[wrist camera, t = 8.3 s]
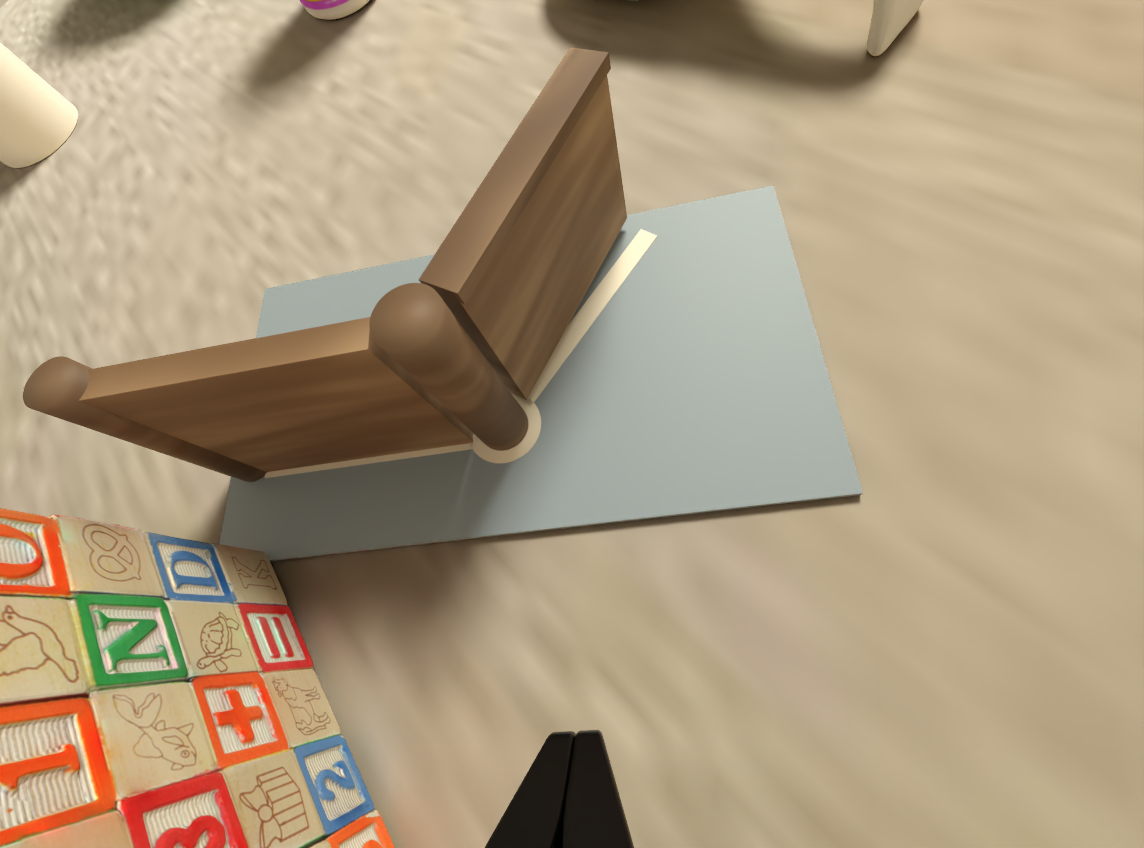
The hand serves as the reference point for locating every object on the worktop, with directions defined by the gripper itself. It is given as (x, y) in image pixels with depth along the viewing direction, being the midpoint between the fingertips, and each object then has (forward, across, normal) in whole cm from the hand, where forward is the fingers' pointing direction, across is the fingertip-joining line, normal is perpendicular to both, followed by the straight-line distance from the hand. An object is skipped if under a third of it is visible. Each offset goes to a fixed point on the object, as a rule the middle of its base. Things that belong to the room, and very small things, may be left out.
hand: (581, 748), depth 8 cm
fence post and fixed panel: (+16, +12, 0) cm, 20 cm away
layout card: (+19, +5, -1) cm, 20 cm away
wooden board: (+20, +1, -4) cm, 21 cm away
